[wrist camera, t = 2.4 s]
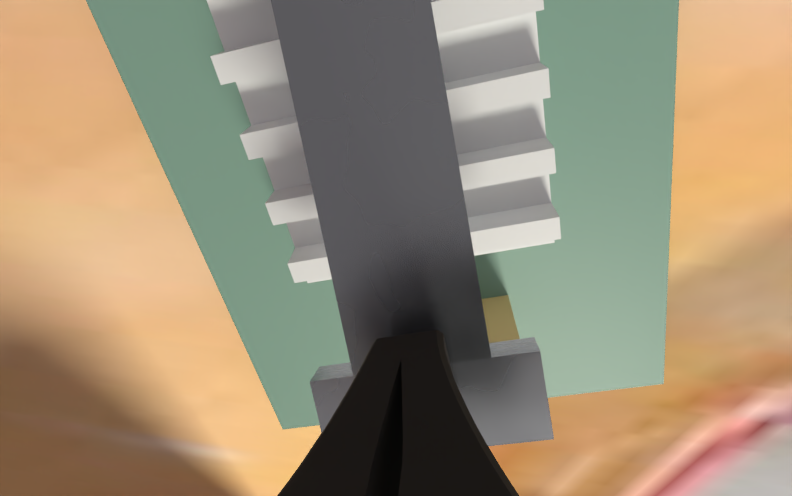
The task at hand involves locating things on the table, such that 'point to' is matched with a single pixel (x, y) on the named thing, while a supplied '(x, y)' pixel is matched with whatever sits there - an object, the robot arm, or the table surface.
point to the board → (479, 168)
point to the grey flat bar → (397, 204)
